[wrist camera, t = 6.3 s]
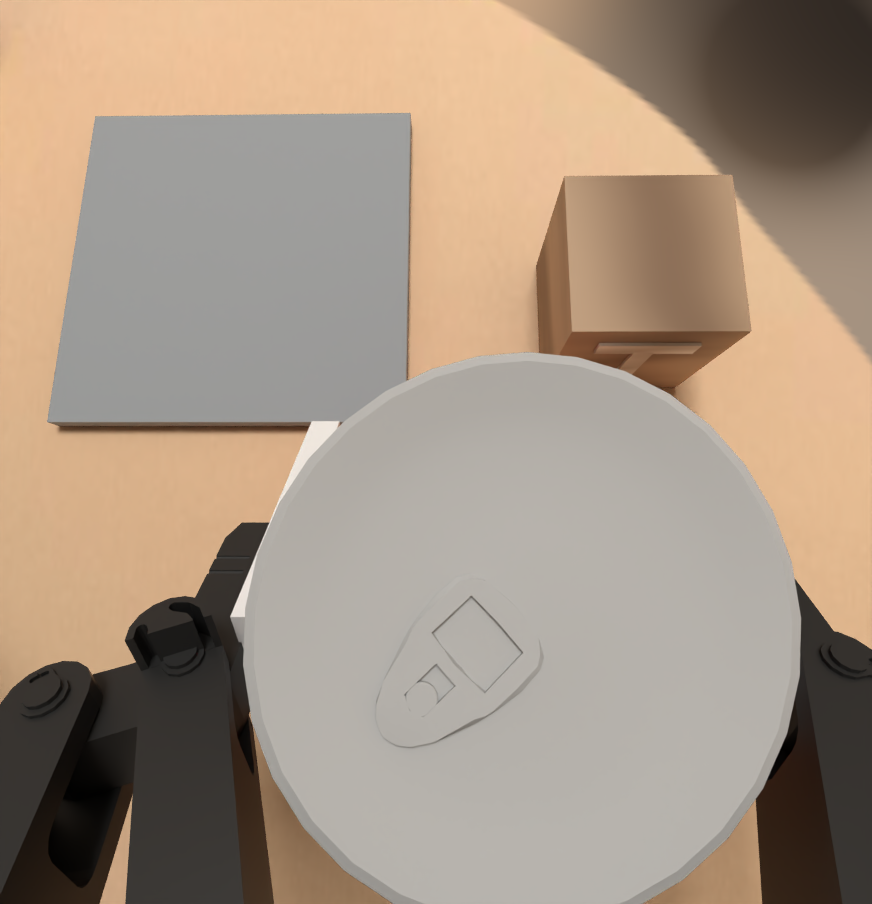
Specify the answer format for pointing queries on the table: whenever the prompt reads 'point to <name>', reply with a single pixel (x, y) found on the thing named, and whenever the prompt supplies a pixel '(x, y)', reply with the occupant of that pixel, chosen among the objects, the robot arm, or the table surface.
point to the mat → (237, 271)
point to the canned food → (522, 637)
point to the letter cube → (643, 274)
